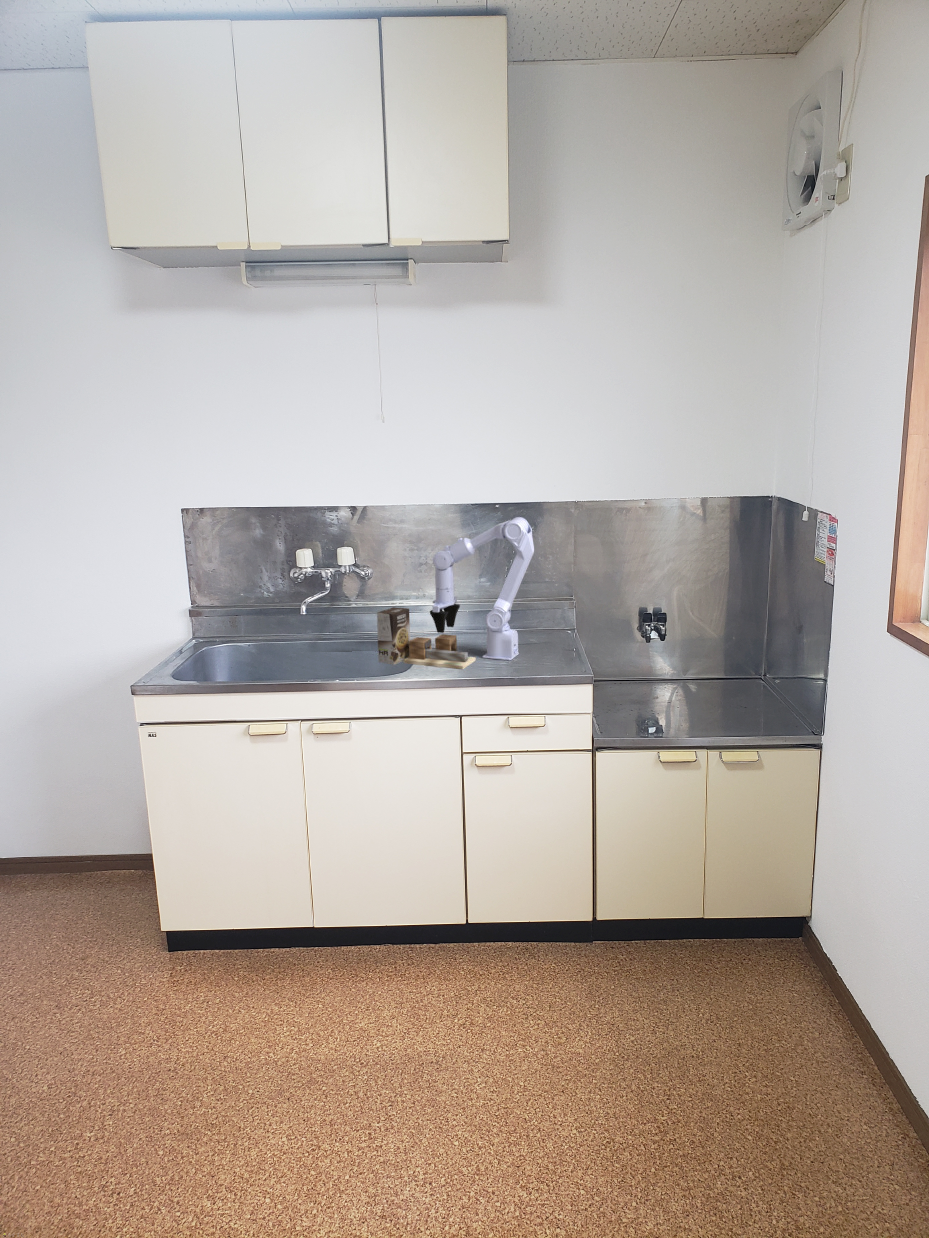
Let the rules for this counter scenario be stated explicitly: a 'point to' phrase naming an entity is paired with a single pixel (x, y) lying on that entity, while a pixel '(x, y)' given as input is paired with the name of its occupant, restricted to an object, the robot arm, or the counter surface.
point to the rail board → (439, 662)
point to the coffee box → (393, 635)
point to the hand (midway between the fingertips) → (445, 629)
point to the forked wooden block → (446, 642)
